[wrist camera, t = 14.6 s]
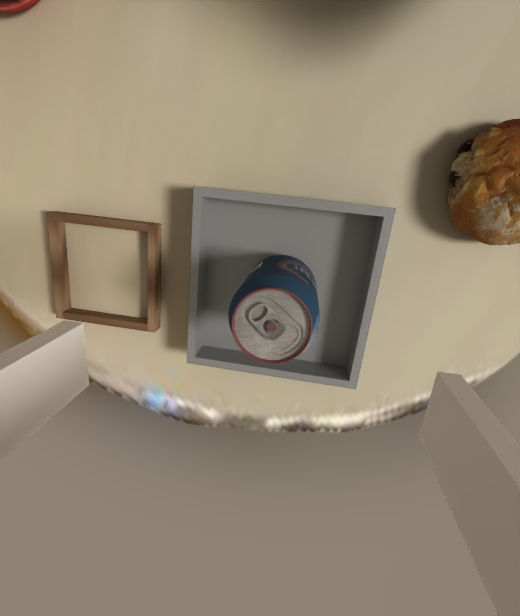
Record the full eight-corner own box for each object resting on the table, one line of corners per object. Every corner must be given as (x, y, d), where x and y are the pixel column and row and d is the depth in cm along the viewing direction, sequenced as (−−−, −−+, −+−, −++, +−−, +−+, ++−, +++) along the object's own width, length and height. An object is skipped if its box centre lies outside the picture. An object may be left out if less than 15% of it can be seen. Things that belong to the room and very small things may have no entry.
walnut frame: (56, 211, 36) (46, 211, 35) (161, 223, 35) (155, 224, 34) (65, 313, 40) (56, 317, 38) (160, 327, 39) (154, 332, 37)
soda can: (330, 289, 35) (342, 333, 23) (279, 330, 37) (268, 389, 25) (284, 238, 34) (274, 258, 22) (235, 283, 36) (203, 322, 24)
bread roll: (452, 244, 36) (509, 285, 29) (414, 169, 30) (474, 200, 24) (546, 178, 33) (631, 208, 27) (523, 81, 27) (624, 90, 21)
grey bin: (204, 187, 34) (193, 186, 30) (386, 207, 32) (395, 208, 29) (196, 349, 39) (186, 362, 36) (351, 372, 38) (355, 389, 34)
